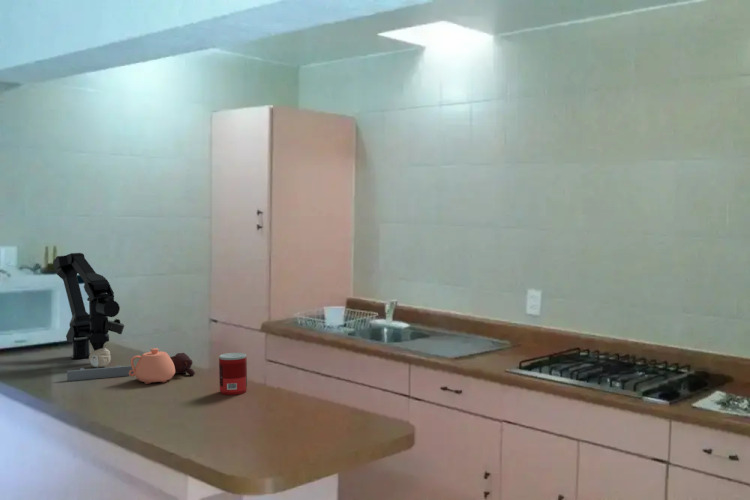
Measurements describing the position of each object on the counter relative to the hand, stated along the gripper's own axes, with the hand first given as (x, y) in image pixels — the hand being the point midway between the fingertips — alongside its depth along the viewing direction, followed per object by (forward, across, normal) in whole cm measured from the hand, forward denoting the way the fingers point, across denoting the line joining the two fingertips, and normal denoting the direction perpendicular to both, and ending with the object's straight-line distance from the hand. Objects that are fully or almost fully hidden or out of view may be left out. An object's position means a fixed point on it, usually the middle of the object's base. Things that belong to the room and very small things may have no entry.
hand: (99, 358), depth 257 cm
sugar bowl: (+2, -35, -15) cm, 38 cm away
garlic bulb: (+2, -7, 0) cm, 7 cm away
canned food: (+2, -59, -36) cm, 69 cm away
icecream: (+2, -28, -24) cm, 37 cm away
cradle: (+2, -22, 0) cm, 22 cm away
